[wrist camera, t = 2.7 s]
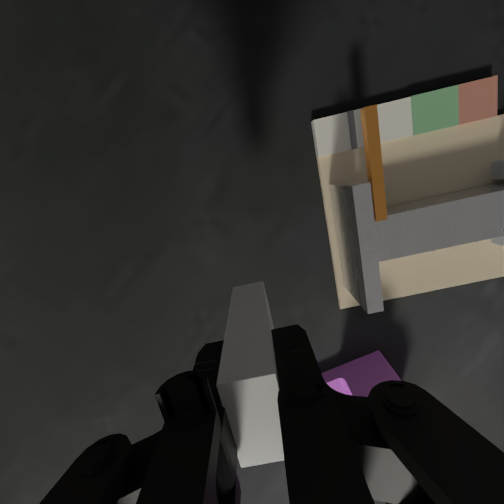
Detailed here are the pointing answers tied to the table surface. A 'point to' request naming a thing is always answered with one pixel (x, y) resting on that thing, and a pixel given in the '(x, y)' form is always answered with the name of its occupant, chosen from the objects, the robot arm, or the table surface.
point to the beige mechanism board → (421, 176)
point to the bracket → (360, 375)
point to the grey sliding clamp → (402, 221)
